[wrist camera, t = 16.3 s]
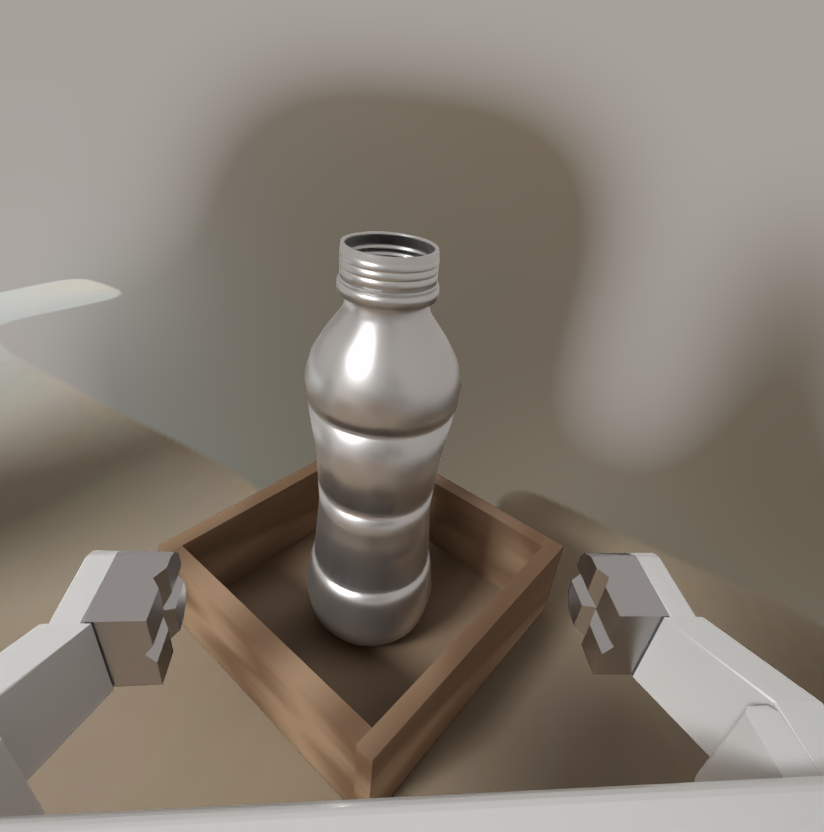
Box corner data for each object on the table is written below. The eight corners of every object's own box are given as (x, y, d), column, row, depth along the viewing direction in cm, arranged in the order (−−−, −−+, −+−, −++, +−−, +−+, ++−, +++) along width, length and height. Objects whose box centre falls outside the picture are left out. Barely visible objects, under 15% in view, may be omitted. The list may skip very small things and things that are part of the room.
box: (172, 612, 29) (157, 545, 27) (364, 491, 39) (367, 433, 37) (367, 825, 22) (372, 760, 19) (544, 608, 32) (563, 546, 29)
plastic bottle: (378, 549, 34) (401, 216, 24) (452, 624, 30) (519, 258, 19) (285, 597, 30) (263, 229, 20) (353, 691, 26) (371, 284, 16)
